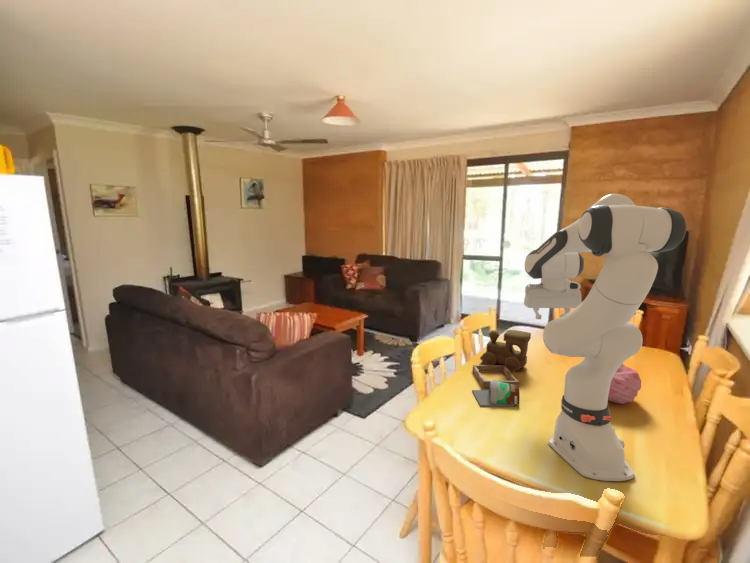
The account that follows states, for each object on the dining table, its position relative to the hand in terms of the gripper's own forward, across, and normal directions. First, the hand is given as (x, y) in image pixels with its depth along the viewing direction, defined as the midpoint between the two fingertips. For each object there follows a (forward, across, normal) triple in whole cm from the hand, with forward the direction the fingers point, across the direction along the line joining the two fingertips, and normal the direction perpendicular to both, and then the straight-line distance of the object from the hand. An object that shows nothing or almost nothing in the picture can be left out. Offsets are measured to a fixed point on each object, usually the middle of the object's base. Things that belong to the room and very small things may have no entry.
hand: (550, 319), depth 138 cm
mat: (+29, -23, -7) cm, 38 cm away
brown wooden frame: (+29, -17, +10) cm, 35 cm away
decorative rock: (+29, +22, -8) cm, 38 cm away
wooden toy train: (+29, -8, +25) cm, 39 cm away
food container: (+26, -14, -8) cm, 30 cm away
